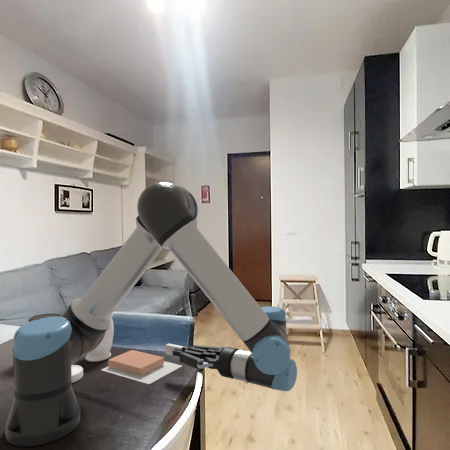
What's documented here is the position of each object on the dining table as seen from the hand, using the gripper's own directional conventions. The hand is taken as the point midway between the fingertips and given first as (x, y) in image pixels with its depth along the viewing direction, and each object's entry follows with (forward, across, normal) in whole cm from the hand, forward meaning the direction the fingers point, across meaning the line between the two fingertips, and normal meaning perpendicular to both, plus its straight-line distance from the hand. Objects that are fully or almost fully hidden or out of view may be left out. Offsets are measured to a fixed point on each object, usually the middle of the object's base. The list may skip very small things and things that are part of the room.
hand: (167, 348), depth 107 cm
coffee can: (+47, -8, -9) cm, 49 cm away
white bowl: (+25, -17, -9) cm, 31 cm away
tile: (+6, 0, -6) cm, 9 cm away
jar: (+32, +1, -9) cm, 33 cm away
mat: (+10, 0, -9) cm, 14 cm away
